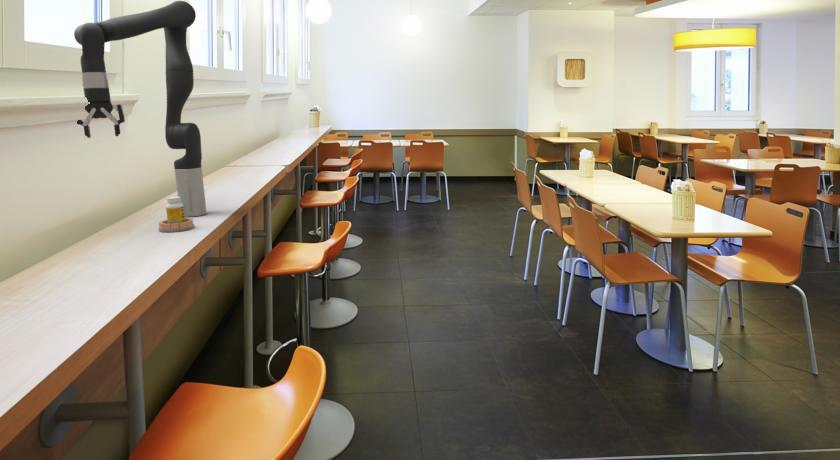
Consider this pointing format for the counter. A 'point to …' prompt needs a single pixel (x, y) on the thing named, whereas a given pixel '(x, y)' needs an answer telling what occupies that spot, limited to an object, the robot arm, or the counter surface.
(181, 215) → the supplement bottle
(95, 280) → the counter surface
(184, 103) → the robot arm
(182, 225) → the ring tray
